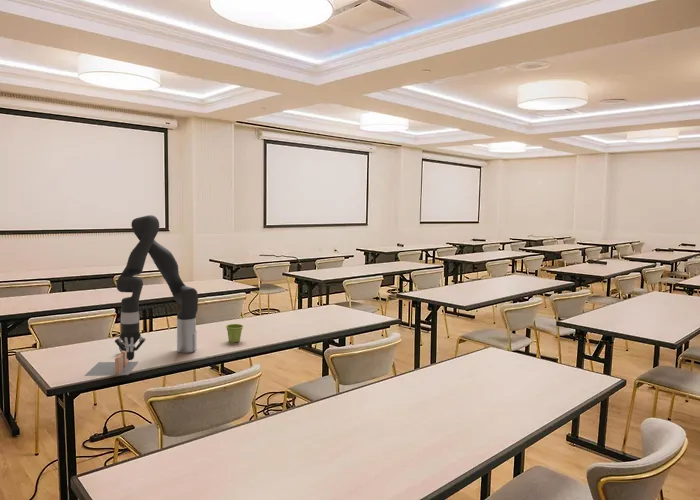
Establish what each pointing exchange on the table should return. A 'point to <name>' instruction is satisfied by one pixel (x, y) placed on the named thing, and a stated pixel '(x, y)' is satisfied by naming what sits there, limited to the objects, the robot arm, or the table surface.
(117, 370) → the tile near
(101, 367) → the slate board
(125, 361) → the tile far
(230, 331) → the plant pot
